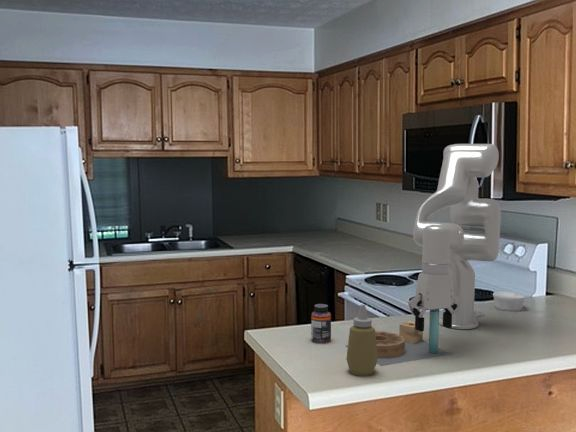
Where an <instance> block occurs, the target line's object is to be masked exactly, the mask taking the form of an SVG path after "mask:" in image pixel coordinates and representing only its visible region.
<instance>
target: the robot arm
mask: <svg viewBox="0 0 576 432" xmlns="http://www.w3.org/2000/svg"><path fill="white" fill-rule="evenodd" d="M499 155H500V153H499V150H498V147H497V146H496V145H495V144H492V143H454V144H449V145H447V146H446V147H445V148H444V149H443V155H442V156H443V159H442V165H441V168H440V173H439V178H438V183H437V184H438V185H437V188H436V191H435V192H434V193H433V194H431V195H430V196H428V198H427V199H426V200H424V201H423V203H421V205H420V207H419V208H418V210H417V213H416V215H415V219H414V220H415V221H414V226H413V231H412V238H413V242H414V243H415V244H416V245H417V246H418V247H422V253H421V254H422V255H421V256H422V259H421V273H419V274H418V276H417V277H418V278H417V281H416V287H415V294H414V295H415V296H414V297H413V298H411V299H410V300H409V301H408V302H407V304H408V307H409V310H410V312H411V313H412V314H413V316H414V319H415V320H414V322H415V329H416V330H419V331H421V332H422V331H423V332H424V331H425V317H424V315H425V313H427V311H430V310H437V309H439V310H444V311H443V312H442V317H439V325H441V327H442V326H443V327H444V328H445V327H446V329H447V328H448V329H454V330H455V329H456V330H471V329H472V330H473V329H475V328H478V327H479V322H478V320H477V319H478V318H483V317H485V315H486V314H485V311H483V310H481V311H477V310H475V288H476V287H475V286H476V272H475V270H474V268H473V266H472V265H471V263H470V262H469V261H476V262H477V261H478V262H493V261H496V260H497V258H498V255H499V250H500V236H501V220H502V219H501V217H502V212H501V209H502V208H501V206H500V203H499V202H498V201H497V200H495V199H492V198H479V181H478V180H477V178H488V177H489V176H491V174H492V173H493V171H495V170H496V168H497V166H498V163H499V159H500V156H499ZM447 208H450V215H449V217H450V221H451V222H440V221H428V220H429V218H431V217H432V215H433V214H435V213H437V212H438V211H439V212H440V211H441V210H444V209H447ZM463 227H468V228H481V229H484V231H477V230H475V231H473V230H464V229H463Z"/></svg>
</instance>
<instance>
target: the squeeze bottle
mask: <svg viewBox="0 0 576 432" xmlns="http://www.w3.org/2000/svg"><path fill="white" fill-rule="evenodd" d="M367 313H368V312H367V308H366V304H360V305H359V310H358V315H357V316H356V317H354V318H353V325H352V326H350V328H349V334H348V341H347V345H348V347H347V349H346V350H347V351H346V357H345V360H346V364H347V366H348V369H349V371H350V373H351V374H353V375H355V376H371V375H373V374H374V371H375V369H376V365H377V348H376V336H375V331H376V328H375V327H374V326H373V325H372V320H373V319H372V318H370V317H368V314H367Z"/></svg>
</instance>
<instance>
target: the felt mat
mask: <svg viewBox="0 0 576 432" xmlns="http://www.w3.org/2000/svg"><path fill="white" fill-rule="evenodd" d="M345 347H346V348H348V344H347V345H345ZM449 355H452V353H451V352H449V351H447V350H444V349H443V348H440V347H438V353H436V354H432V353H429V342H426V341H424V340H422V341H419V342H417V343H414V344H412V343H408V342H405V353H404V354H402V355H400V356H398V357H392V358H377V363H376V365H379V366H381V367H384V366H389V365H396V364H401V363H408V362H412V361H420V360H424V359H430V358H431V359H432V358H437V357H443V356H449Z"/></svg>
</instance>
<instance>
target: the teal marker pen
mask: <svg viewBox="0 0 576 432" xmlns="http://www.w3.org/2000/svg"><path fill="white" fill-rule="evenodd" d="M439 319H440V309H437V310H429V325H428V327H429V328H428V343H429V353H432V354H436V353H438V348H439V331H440V330H439V329H440V327H439V326H440V323H439Z"/></svg>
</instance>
